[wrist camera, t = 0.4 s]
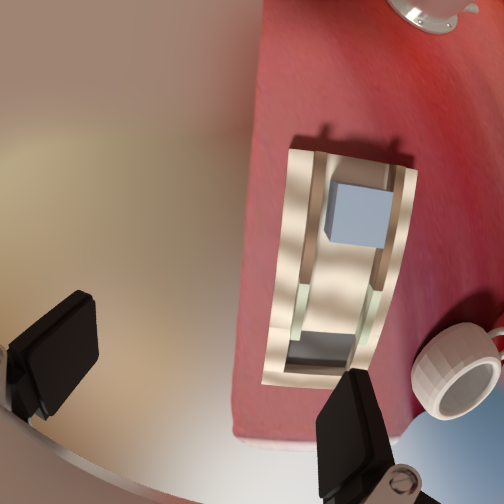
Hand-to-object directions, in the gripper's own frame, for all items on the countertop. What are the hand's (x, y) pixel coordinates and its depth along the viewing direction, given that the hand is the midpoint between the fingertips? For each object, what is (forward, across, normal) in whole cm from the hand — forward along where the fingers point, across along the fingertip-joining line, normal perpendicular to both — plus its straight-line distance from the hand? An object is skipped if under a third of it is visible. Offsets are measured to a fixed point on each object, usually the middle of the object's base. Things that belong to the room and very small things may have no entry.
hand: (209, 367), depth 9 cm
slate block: (+26, -10, -4) cm, 28 cm away
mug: (+29, -40, +14) cm, 51 cm away
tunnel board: (+28, -12, +7) cm, 31 cm away
